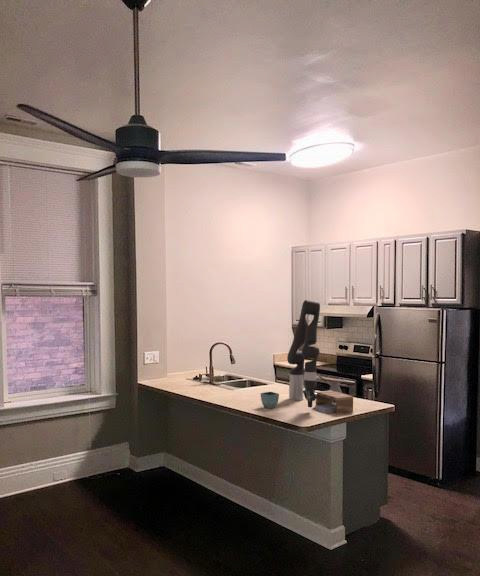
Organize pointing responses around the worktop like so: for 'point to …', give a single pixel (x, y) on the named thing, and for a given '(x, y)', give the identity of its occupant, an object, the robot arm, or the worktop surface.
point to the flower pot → (269, 399)
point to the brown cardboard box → (342, 400)
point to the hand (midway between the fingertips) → (310, 407)
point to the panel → (326, 408)
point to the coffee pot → (333, 386)
